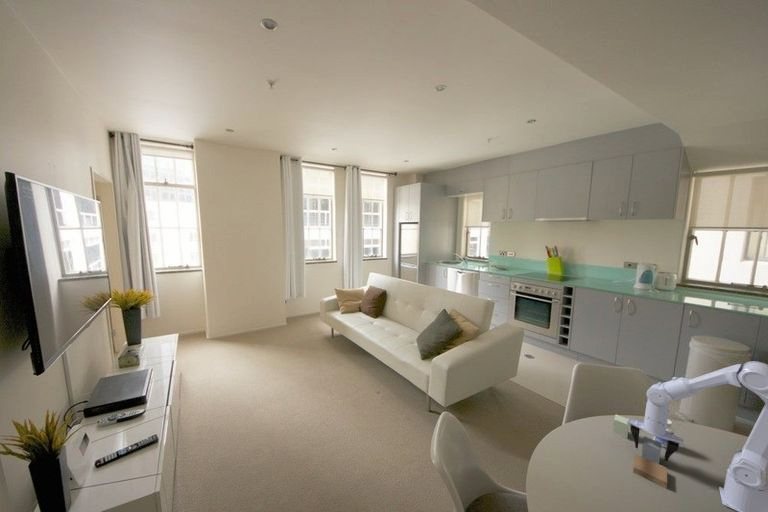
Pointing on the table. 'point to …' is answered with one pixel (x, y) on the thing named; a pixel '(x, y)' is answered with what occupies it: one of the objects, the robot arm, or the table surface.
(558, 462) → the table surface
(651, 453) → the slate block
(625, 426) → the sage block
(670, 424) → the pill bottle
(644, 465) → the walnut block
